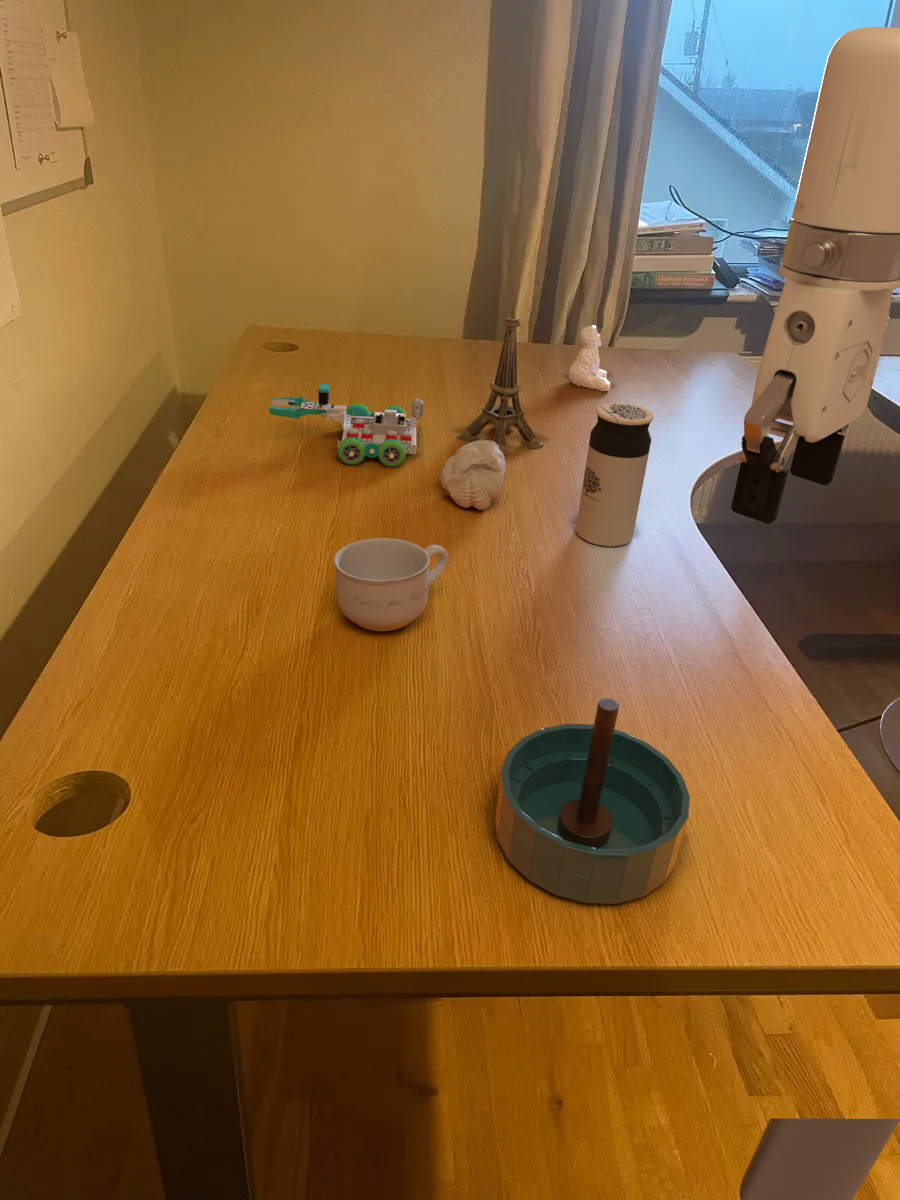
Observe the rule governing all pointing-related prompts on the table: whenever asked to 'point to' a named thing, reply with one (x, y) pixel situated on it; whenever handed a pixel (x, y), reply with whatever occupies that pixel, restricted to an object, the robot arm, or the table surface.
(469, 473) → the fossil replica
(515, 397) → the eiffel tower
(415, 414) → the robot kit
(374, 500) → the table surface
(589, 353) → the sitting furry creature
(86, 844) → the table surface
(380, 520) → the table surface
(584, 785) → the stirring stick
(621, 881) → the bowl
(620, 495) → the travel mug
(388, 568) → the teacup
